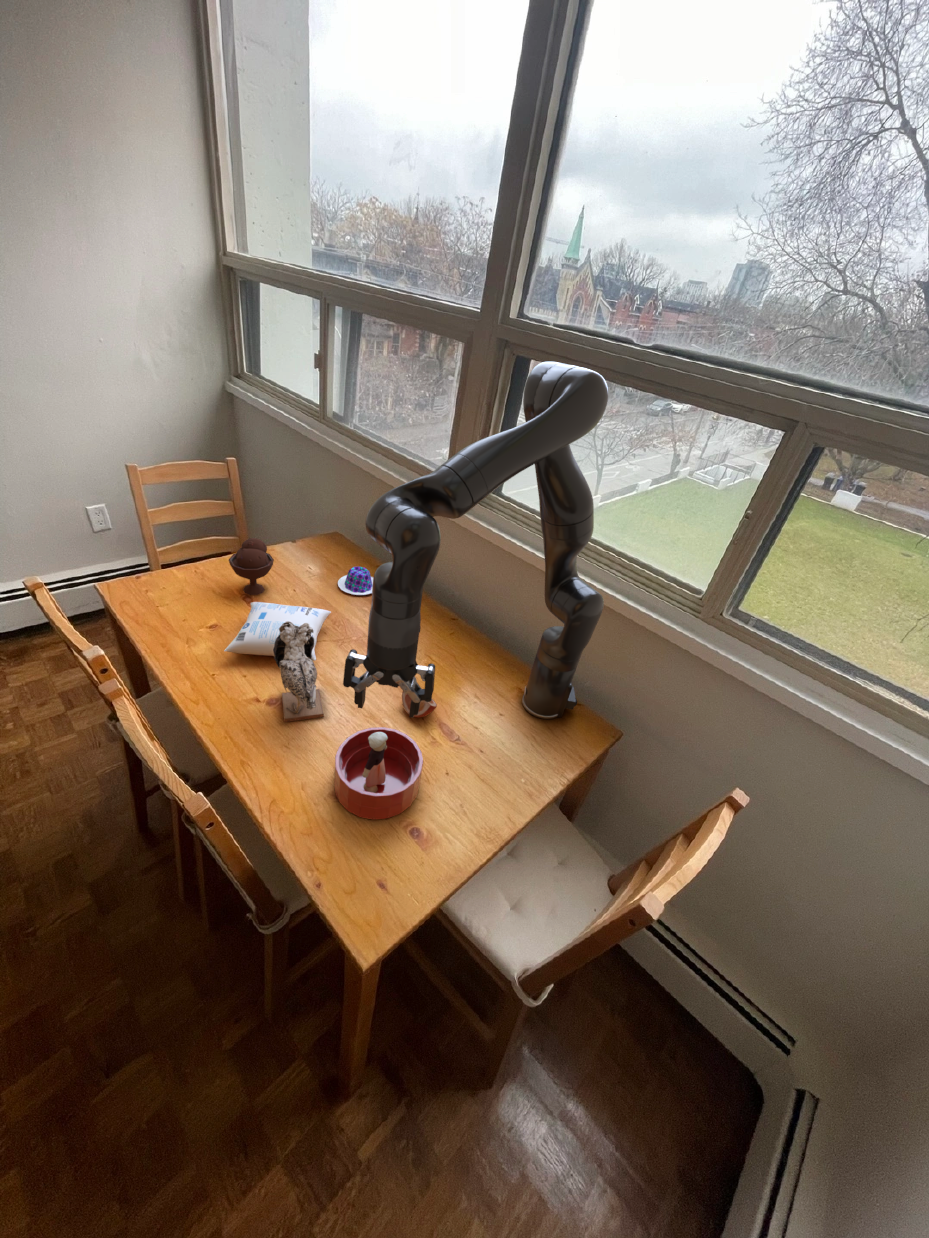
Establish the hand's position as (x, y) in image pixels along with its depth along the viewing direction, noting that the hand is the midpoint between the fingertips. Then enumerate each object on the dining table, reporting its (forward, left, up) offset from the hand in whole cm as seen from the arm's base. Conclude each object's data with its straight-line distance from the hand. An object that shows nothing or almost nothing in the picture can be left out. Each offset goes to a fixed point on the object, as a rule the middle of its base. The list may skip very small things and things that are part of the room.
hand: (386, 709), depth 84 cm
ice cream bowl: (+48, -55, -19) cm, 75 cm away
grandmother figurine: (+1, 0, -19) cm, 19 cm away
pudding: (+22, -66, -19) cm, 73 cm away
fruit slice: (-4, -21, -19) cm, 28 cm away
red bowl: (0, 0, -19) cm, 19 cm away
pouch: (+32, -34, -19) cm, 51 cm away
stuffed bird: (+20, -16, -19) cm, 32 cm away
